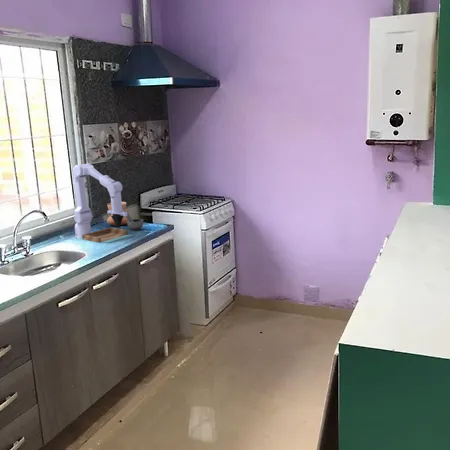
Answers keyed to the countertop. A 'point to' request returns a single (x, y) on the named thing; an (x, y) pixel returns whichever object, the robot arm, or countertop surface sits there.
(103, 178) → the robot arm
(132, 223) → the mortar and pestle
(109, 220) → the ceramic jug
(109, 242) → the panel
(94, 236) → the tray
